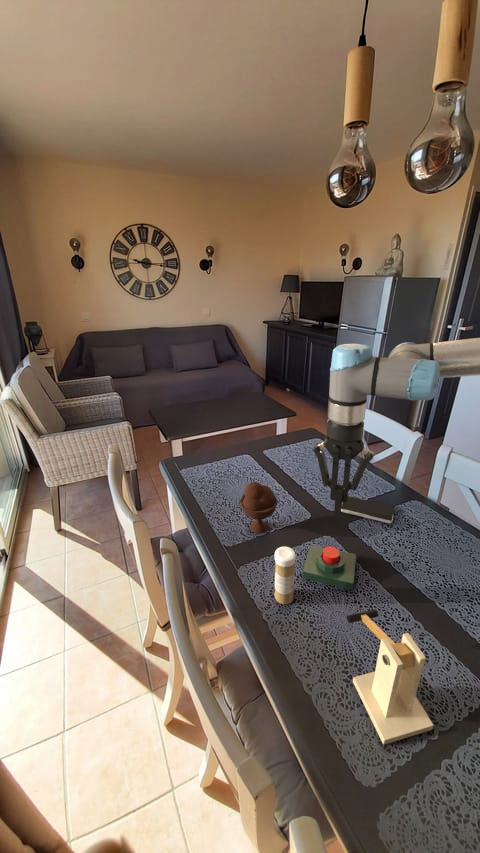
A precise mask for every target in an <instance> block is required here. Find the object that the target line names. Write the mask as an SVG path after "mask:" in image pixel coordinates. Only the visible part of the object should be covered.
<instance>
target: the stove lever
mask: <svg viewBox="0 0 480 853" xmlns="http://www.w3.org/2000/svg"><path fill="white" fill-rule="evenodd" d="M378 617H379V612H378V610H377V609H371V610H366V611H361V612H357V613H353V614H348V615H346V620H347V623H349V624H353V623H357V622H362V623H363V624H364V625H365V626H366V627H367V629H369V630H370V631H371V632H372V633H373V634H374V635H375V637H376V638H378V639H379V640H380V641H381V639H385V638H387V640H388V641H389V643H390V644H391V646H392V647H393V649H394V651H395V652H396V654H397V655H398V657H399V658H400V660H401V662H402V663H403V666H402V670H404V669H408V668H411V667H414V666H413V656H412V652H411V651H410V650H409V649H408V648H407V647H406V646H405V645H404V644H403V643H402V642H394V641H393V640H392V638H390V636H388V635H387V633H385V632H384V631H383V630H382V629H381V628H380V627H379V626H378V625H377V623H375V622H374V620H372V619H374V618H378Z"/></svg>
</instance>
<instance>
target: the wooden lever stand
mask: <svg viewBox="0 0 480 853" xmlns="http://www.w3.org/2000/svg"><path fill="white" fill-rule="evenodd" d="M401 642H402V643H403V644H404V645H405V646H406V647H407V648H408V649H409V650H410V651H411V652H412V656H413V666H414V667H411V668H408V669H404V670H402V666H403V663H402V662H401V660H400V658H399V657H398V655H397V654H396V652H395V651H394V649H393V647H392V646H391V644H390V643H389V641H388V640H387V638H385V639H381V640H380V644H379V650H378V655H377V659H376V665H375V669H374V671H372V672H368V673H365V674H360V675H357V676H353V677H352V678H353V679H352V683H353V685H354V687H355V689H356V692H357V694H358V696H359V697H360V700H361V701H362V703H363V706H364V707H365V710H366V712H367V715H368V716H369V718H370V720H371V722H372V724H373V726H374V728H375V730H376V732H377V735H378V736H379V739H380V741H381V743H382V745H383V746H385V745H388V744H391V743H395V742H398V741H400V740H403V739H404V740H405V739H407V738H410V737H414V736H417V735H421V734H424V733H427V732H430V731H432V730H433V728H434V723H433V722H432V719H430V717H429V715H428V714H427V712H426V710H425V709H424V707H423V706H422V704H421V702H420V700H419V699H418V698H417V692H418V690H419V686H420V681H421V677H422V674H423V670H424V667H425V663H426V659H427V658H426V656H425V655H424V653H423V652H422V650H421V648H420V647H419V646H418V644H417V643H416V641H415V640H414V639H413V637H412V636H411V635H410V633H409V632H405V633H403V634H402V638H401Z"/></svg>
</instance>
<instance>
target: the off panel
mask: <svg viewBox="0 0 480 853" xmlns="http://www.w3.org/2000/svg"><path fill="white" fill-rule="evenodd" d="M324 548H325V547H323V546H318V545H315V544H309V547H308V550H307V555H306V557H305V558H306V559H305V561H304V566H303V569H302V579H305V580H310V581H313V582H317V583H321V584H326V585H329V586H332V587H337V588H341V589H346V590H349V591H353V590H354V586H355V585H354V584H355V575H356V574H355V573H356V562H357V554H356V553H351V552H346V551H343V550H342V551H341V550H339V549H338V551H339V553H340V555H339V561H338V563H336V564H328V563H326V562H325V561H324V560H323V550H324Z"/></svg>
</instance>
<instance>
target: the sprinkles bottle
mask: <svg viewBox="0 0 480 853" xmlns="http://www.w3.org/2000/svg"><path fill="white" fill-rule="evenodd" d="M296 559H297V558H296V552H295V550H294V549H293V548H291V547H290V546H280V547H278V548H276V550H275V551H274V562H275V568H274V571H275V572H274V600H275V601H276V602H277V603H279V604H281V605H289V604H291V603H292V602H293V601H294V589H295V572H296V571H295V564H296Z"/></svg>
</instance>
